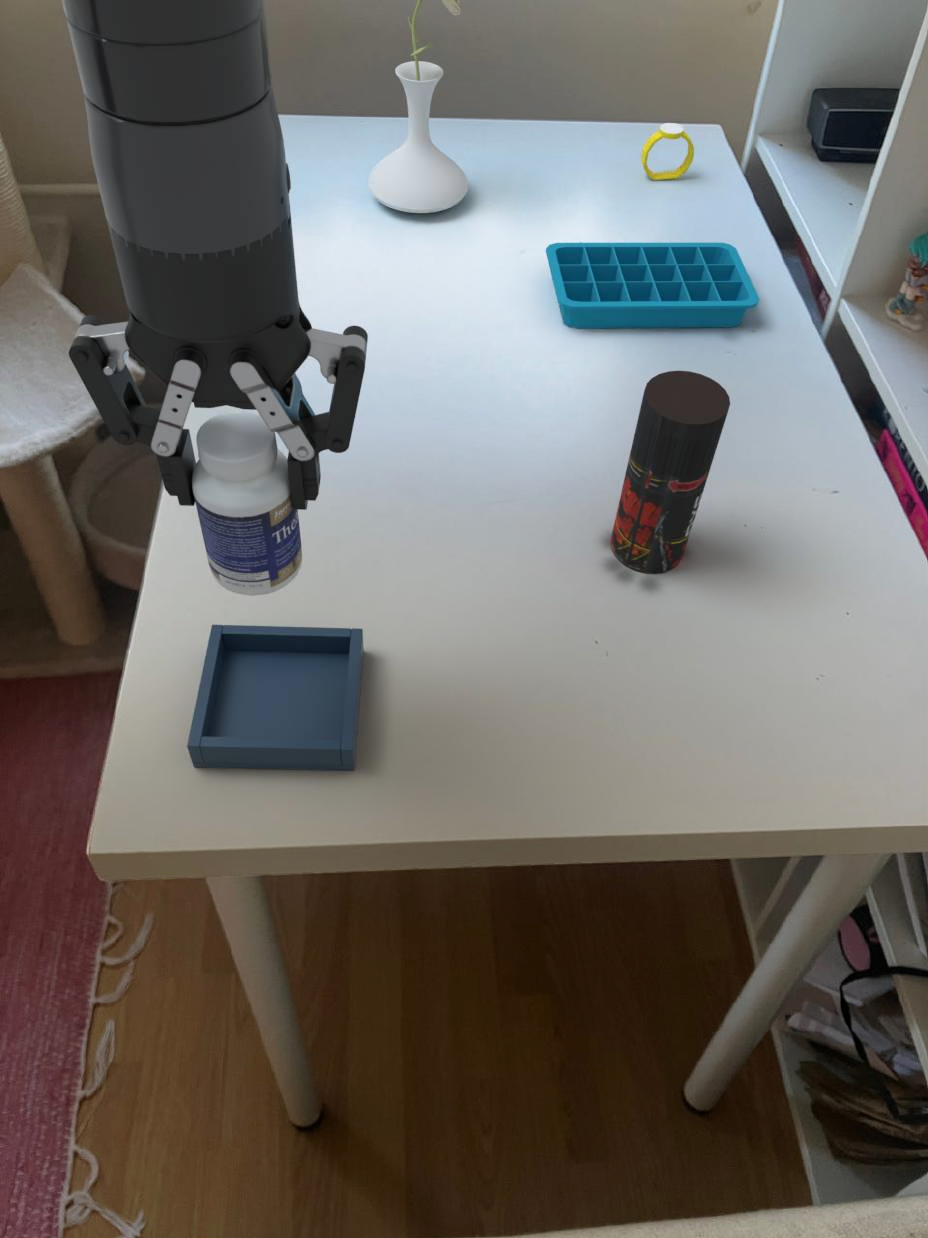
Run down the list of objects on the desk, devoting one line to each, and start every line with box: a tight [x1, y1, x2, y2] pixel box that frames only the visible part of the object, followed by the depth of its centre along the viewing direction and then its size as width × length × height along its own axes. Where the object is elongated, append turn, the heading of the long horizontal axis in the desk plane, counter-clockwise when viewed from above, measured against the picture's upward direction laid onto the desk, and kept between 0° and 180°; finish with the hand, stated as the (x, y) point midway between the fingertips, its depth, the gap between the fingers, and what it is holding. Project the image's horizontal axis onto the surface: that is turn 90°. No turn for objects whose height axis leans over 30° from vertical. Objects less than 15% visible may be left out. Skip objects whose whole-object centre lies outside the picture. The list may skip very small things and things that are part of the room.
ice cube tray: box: [545, 242, 760, 329], centre depth 103 cm, size 12×20×3 cm, turn 94°
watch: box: [640, 122, 695, 182], centre depth 118 cm, size 6×3×6 cm, turn 97°
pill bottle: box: [192, 410, 303, 596], centre depth 55 cm, size 5×5×10 cm
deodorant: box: [610, 370, 731, 575], centre depth 75 cm, size 6×6×15 cm
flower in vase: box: [367, 0, 469, 214], centre depth 106 cm, size 13×11×25 cm
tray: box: [186, 624, 365, 771], centre depth 69 cm, size 11×10×3 cm
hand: (246, 496), depth 54 cm, fingers closed on pill bottle, 5 cm apart
